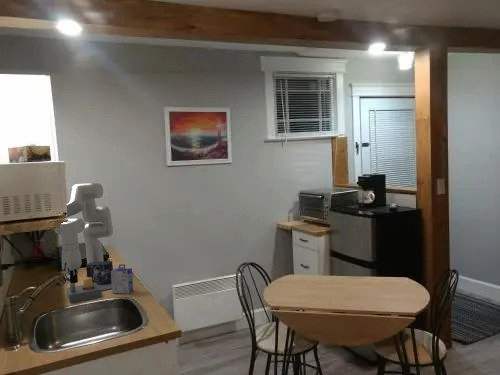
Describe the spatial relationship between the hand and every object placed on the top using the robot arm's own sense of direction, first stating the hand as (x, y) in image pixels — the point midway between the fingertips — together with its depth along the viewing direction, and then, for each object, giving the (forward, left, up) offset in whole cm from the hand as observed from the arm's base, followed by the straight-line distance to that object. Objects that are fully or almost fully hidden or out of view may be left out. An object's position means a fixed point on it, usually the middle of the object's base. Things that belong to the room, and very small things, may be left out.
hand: (74, 282), depth 221 cm
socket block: (-9, +5, -11) cm, 15 cm away
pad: (-16, +17, -11) cm, 26 cm away
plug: (-9, +7, -11) cm, 16 cm away
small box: (-27, +16, -11) cm, 34 cm away
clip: (-4, -2, +1) cm, 5 cm away
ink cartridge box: (-3, +24, -11) cm, 26 cm away
